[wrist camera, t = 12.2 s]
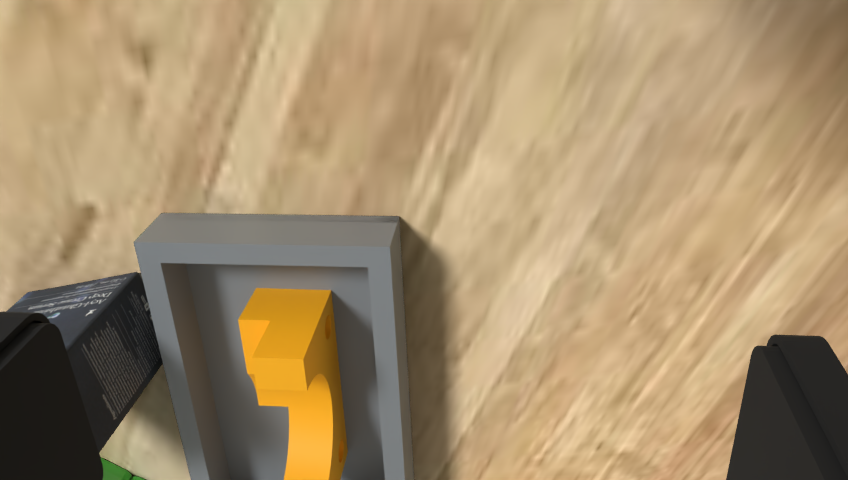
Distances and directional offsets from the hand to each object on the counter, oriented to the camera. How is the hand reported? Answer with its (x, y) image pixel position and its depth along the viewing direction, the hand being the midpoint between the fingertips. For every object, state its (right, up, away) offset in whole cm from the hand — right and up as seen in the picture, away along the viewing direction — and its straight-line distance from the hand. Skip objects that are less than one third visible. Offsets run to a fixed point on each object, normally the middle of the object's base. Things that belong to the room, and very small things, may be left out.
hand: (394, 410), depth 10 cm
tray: (-7, -5, +36) cm, 37 cm away
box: (-19, -2, +36) cm, 41 cm away
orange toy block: (-7, -6, +35) cm, 36 cm away
